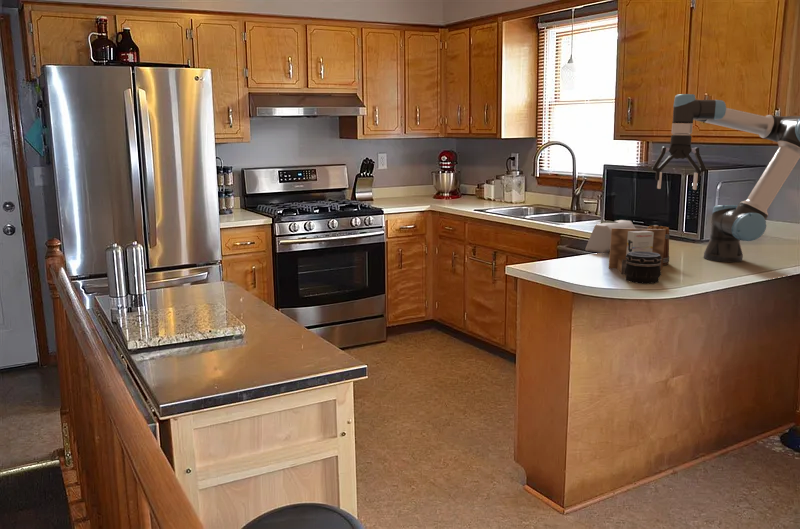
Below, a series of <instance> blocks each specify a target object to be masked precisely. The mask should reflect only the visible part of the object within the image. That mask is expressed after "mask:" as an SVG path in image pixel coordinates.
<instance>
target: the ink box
mask: <svg viewBox="0 0 800 529" xmlns="http://www.w3.org/2000/svg"><path fill="white" fill-rule="evenodd" d="M653 237H654V232H651V231H628V237H627V251H626V255H627V254H628V253H629V252H635V251H643V252H652V250H653Z"/></svg>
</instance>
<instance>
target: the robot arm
mask: <svg viewBox="0 0 800 529" xmlns="http://www.w3.org/2000/svg"><path fill="white" fill-rule="evenodd" d="M672 108H673V110H672V111H673V112H672V123H671V135H670V144H669V147H666V146H662V147H661V148H660V149H661V150H660V153H659V154H658V156H657V158H656V159H655V162H653V165H652V166H651V167H650V168H651V170H652V171H654V172H655V181H657V185H656V189H658V190H661V188H662V179H663V178H662V177H663V172H662V170H663V169H664V168H665V167H666V166H667V165H668V164H669V163H670V162H671V161H672V160H673V159H676V160H677V159H681V160H684V159H685V160H687V161H688V164H690V166H691V167H692V168H693V169H694V171H695V172H693V181H692V190H695V191H697V189H698V182H700V181H701V173H703V172H706V171H707V168H706V166H705V163H704V160H703V159H702V157H701V154H700V147H698V146H697V147H692V134H693V125H694V121H697V122H701V123H706V124H711V125H715V126H720V127H724V128H727V129H732V130H736V131H742V132H746V133H750V134H755V135H758V137H759V138H762V139H765V140H769V141H772V142H775V143H777V145H778V148H777V150H776V152H775V153H774V155H773V156H772V158H771V160H770V161H769V163H768V164H767V166H766V168H765V169H764V171H763V173H762V174H761V175H760V178H759V179H758V181H757V182H756V183H755V185H754V187H753V188H752V190H751V191H750V193H749V195H748V196H747V199H745V200H742V201H740V202H739V203H738V205H737V204H728V205H727V204H725V205H724V204H719V205H714V206H713V208H712V212H711V224H710V235H709V241H708V243H707V245H706V248H705V249H704V252H703V258H704V259H706V260H708V261H715V262H723V263H739V262H743V260H744V259H743V258H744V255H743V254H744V253H743V250H742V246H741V241H742V242H752V241H753V242H754V241H756V240H757V239H758V240H759V238H761V237H762V236H763V234H764V233H765V232H766V229H767V224H766V223H767V221H766V220H767V218H768V217H769V213H768V209H769V208H770V206H771V204H772V203H773V201H774V200H775V198H776V196H777V195H778V193H779V191H780V190H781V188H782V186H783V185H784V183H785V182H786V180H787V179H788V178H789V176H790V174H791V172H792V171H793V169H794V168H795V166H796V165H797V163H798V161H799V160H800V115H787V116H784V115H783V116H782V115H781V116H779V115H772V114H766V115H761V114H757V113H752V112H749V111H748V112H747V111H743V110H737V109H734V108H730V107H729V108H728V107H727V105H726V101H724V100H722V99H696V95H695V94H694V93H693V94H692V93H691V94H690V93H681V94H679V93H678V94H676V95H675V96H674V101H673V107H672ZM668 152H669V153H670V154H669V155H668V156H667V157H666V159H664V160H663V158H664V156H665V154H667V153H668ZM691 152H692V153H693V154H694V156H695V159H696V161H697V164H698V165H697V164H696V162H695V161H694V159H693V158H692V157H691V155H690V153H691ZM662 160H663V162H662ZM661 162H662V163H661ZM659 164H660V165H659Z"/></svg>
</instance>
